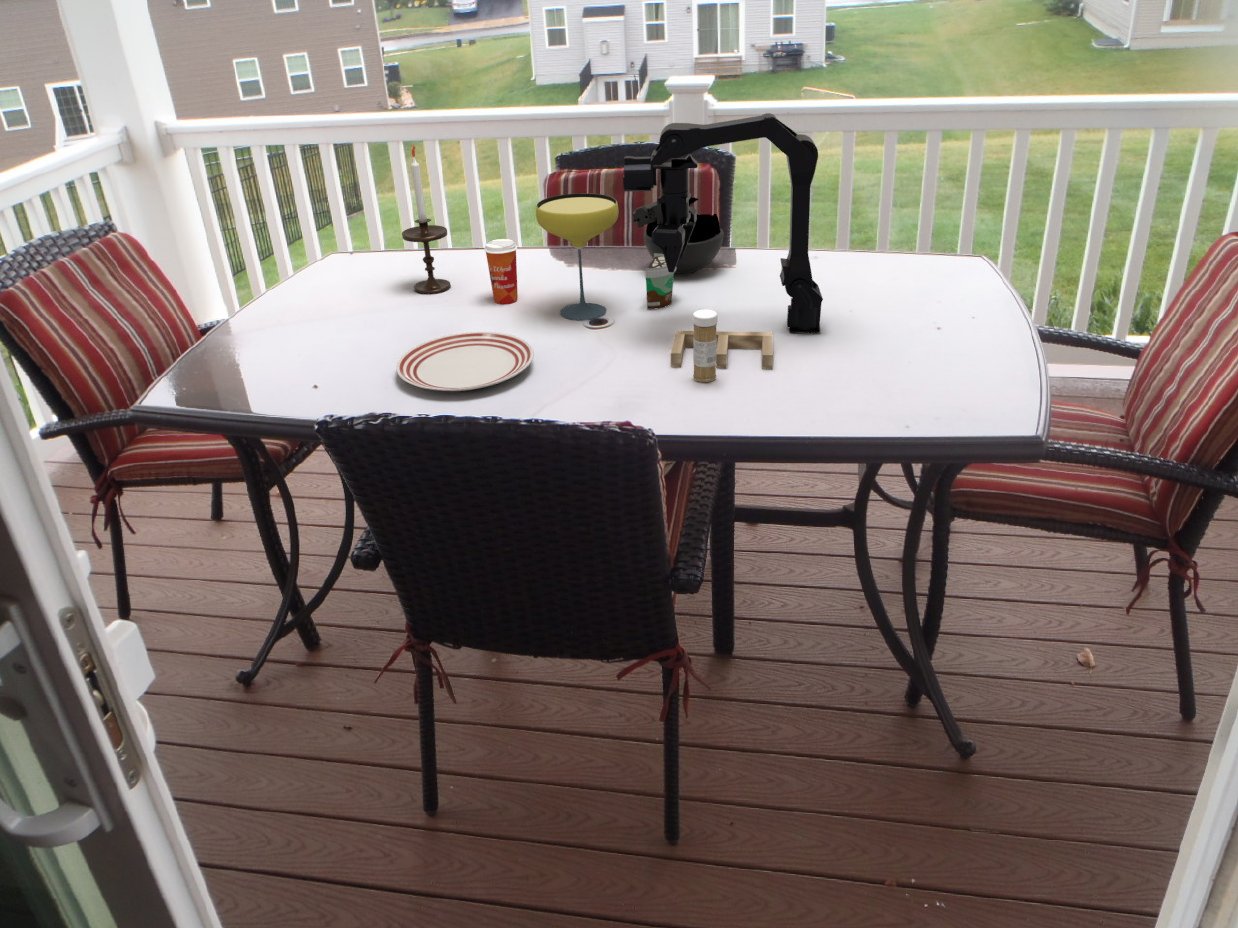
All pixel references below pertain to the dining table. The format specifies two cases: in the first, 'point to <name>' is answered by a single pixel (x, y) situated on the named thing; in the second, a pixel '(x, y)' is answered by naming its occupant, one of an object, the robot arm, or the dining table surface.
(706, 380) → the sprinkles bottle
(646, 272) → the food container
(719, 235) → the coal bowl
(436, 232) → the candlestick
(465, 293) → the dining table surface
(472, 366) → the dinner plate
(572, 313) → the cocktail glass
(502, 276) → the paper cup
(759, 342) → the comb rack
